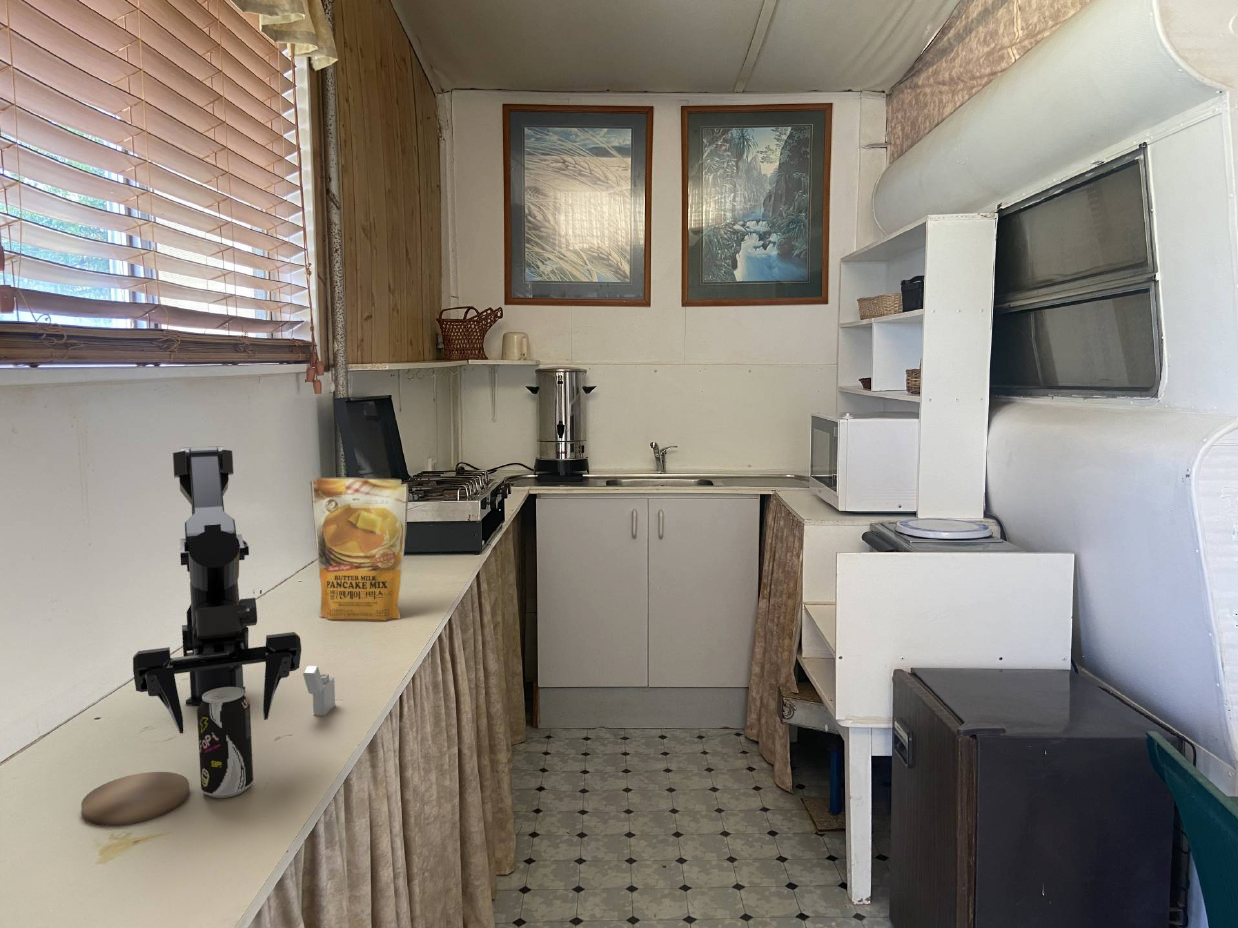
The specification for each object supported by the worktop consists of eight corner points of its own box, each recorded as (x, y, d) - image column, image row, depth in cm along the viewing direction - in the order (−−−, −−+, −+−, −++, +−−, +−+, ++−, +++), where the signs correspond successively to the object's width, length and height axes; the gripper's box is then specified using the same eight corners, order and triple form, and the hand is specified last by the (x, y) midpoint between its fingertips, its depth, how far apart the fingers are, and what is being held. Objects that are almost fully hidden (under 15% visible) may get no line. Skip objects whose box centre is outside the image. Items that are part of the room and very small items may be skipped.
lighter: (324, 704, 135) (322, 652, 134) (335, 704, 134) (333, 652, 134) (304, 723, 128) (302, 668, 127) (316, 723, 127) (314, 669, 127)
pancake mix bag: (321, 611, 185) (316, 475, 182) (413, 613, 184) (409, 476, 180) (308, 620, 178) (302, 480, 175) (403, 622, 177) (399, 481, 174)
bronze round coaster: (60, 824, 99) (59, 816, 99) (116, 779, 110) (116, 771, 110) (159, 825, 99) (158, 817, 99) (206, 779, 110) (205, 772, 110)
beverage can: (190, 794, 107) (185, 696, 105) (231, 775, 112) (227, 681, 110) (223, 805, 104) (218, 705, 103) (264, 785, 109) (259, 689, 108)
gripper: (128, 585, 106) (130, 707, 97) (296, 569, 114) (311, 681, 105) (135, 633, 114) (137, 750, 105) (291, 615, 122) (305, 722, 113)
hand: (224, 724), depth 107 cm, fingers open, 9 cm apart
